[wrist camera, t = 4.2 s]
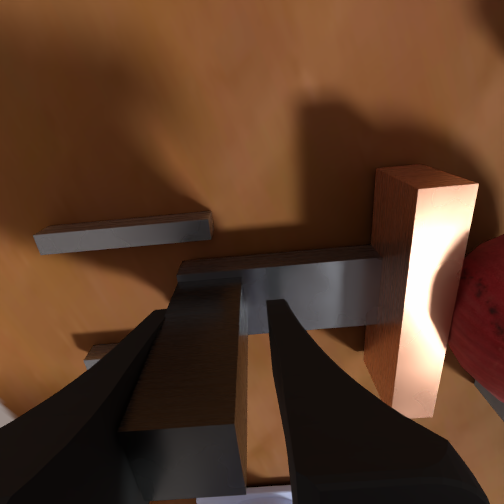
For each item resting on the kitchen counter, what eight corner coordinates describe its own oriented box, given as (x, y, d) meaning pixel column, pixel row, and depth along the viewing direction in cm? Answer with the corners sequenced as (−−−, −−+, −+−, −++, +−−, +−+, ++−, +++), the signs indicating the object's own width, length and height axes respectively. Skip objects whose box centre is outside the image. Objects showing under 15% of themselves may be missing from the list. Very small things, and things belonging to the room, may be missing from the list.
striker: (397, 357, 15) (512, 552, 9) (205, 371, 16) (172, 570, 9) (420, 163, 12) (654, 242, 5) (167, 188, 12) (62, 293, 5)
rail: (232, 347, 15) (231, 363, 14) (98, 358, 16) (88, 374, 15) (211, 210, 12) (208, 219, 12) (48, 226, 13) (32, 235, 12)
